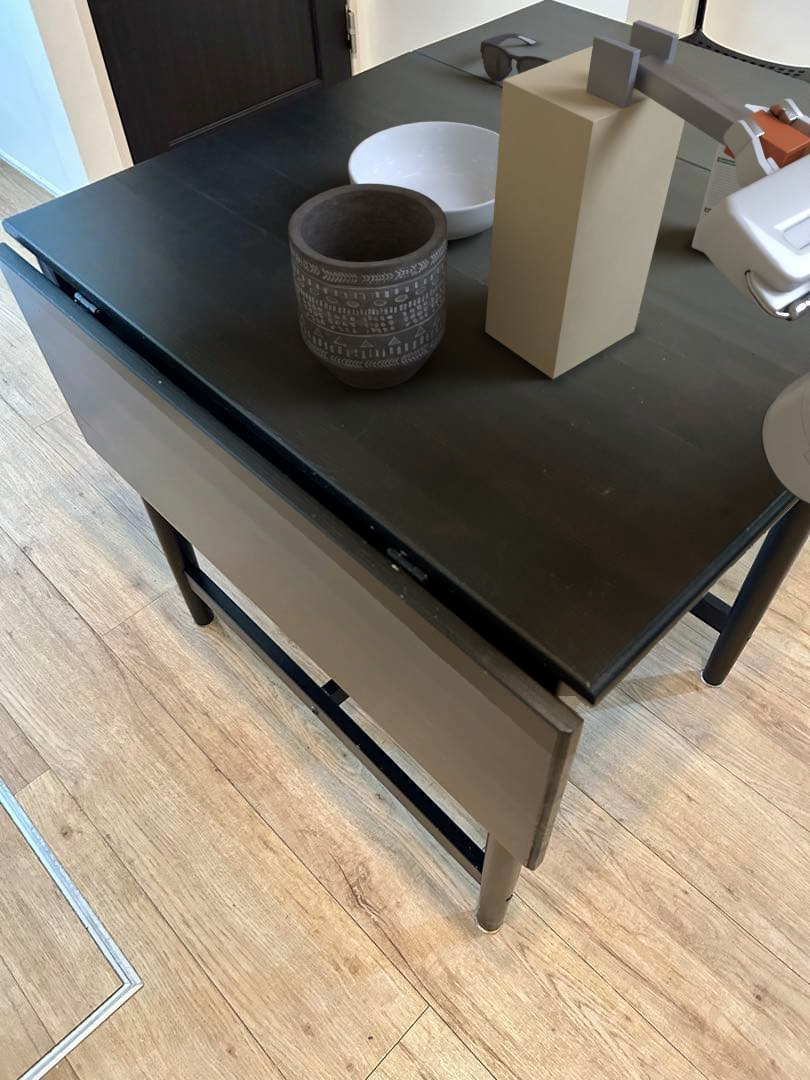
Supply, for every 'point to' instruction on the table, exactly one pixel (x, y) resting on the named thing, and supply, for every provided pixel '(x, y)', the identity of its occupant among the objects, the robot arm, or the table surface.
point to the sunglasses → (506, 57)
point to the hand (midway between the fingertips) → (755, 115)
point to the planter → (370, 281)
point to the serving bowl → (436, 169)
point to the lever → (714, 109)
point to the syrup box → (720, 180)
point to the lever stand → (578, 200)
